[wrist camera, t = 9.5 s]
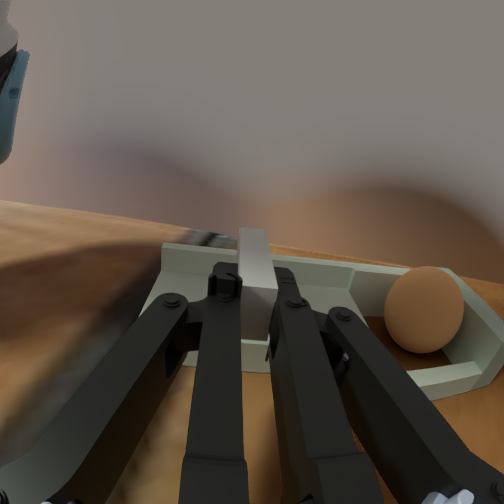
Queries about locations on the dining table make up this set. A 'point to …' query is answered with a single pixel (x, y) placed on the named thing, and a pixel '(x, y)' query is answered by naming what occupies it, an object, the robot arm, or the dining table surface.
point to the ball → (423, 309)
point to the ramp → (354, 298)
